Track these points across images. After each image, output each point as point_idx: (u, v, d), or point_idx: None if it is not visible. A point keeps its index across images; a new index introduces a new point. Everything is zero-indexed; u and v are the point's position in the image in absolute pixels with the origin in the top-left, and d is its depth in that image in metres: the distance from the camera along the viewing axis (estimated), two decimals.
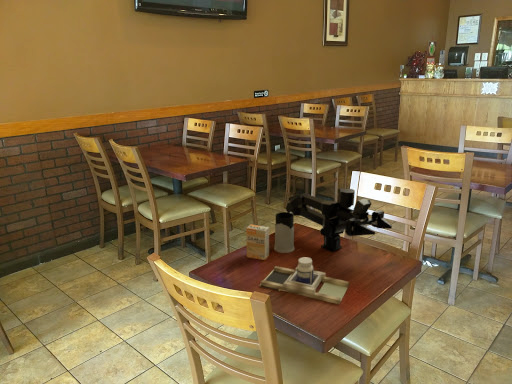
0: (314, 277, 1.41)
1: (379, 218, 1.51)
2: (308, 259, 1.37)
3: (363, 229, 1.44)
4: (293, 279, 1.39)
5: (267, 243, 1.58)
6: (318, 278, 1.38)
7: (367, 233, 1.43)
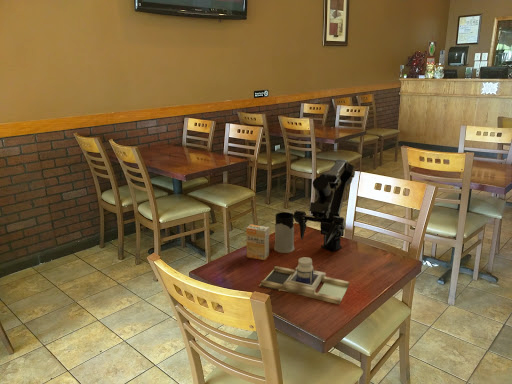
0: (314, 277, 1.41)
1: None
2: (308, 259, 1.37)
3: None
4: (293, 279, 1.39)
5: (267, 243, 1.58)
6: (318, 278, 1.38)
7: None
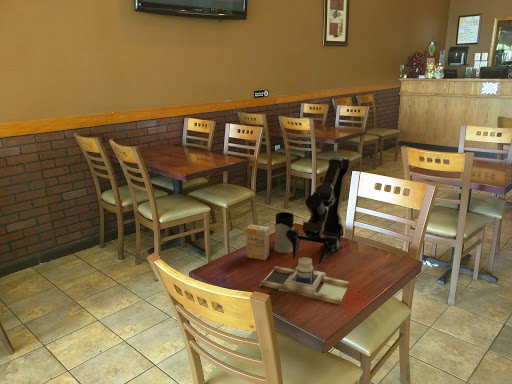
0: (314, 277, 1.41)
1: None
2: (308, 259, 1.37)
3: None
4: (293, 279, 1.39)
5: (267, 243, 1.58)
6: (318, 278, 1.38)
7: None
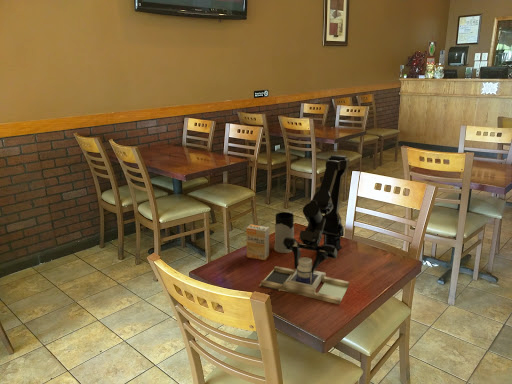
0: (314, 277, 1.41)
1: None
2: (308, 259, 1.37)
3: None
4: (293, 279, 1.39)
5: (267, 243, 1.58)
6: (318, 278, 1.38)
7: None
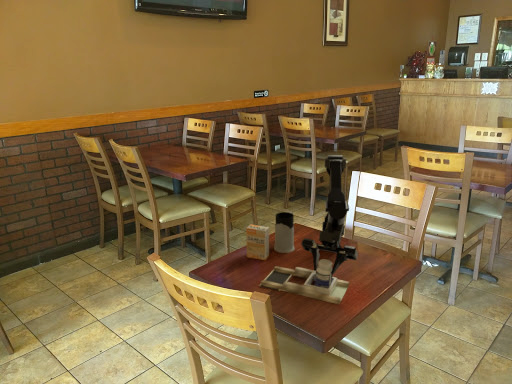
0: None
1: None
2: (328, 261, 1.34)
3: None
4: (308, 282, 1.37)
5: (267, 243, 1.58)
6: (334, 281, 1.36)
7: None
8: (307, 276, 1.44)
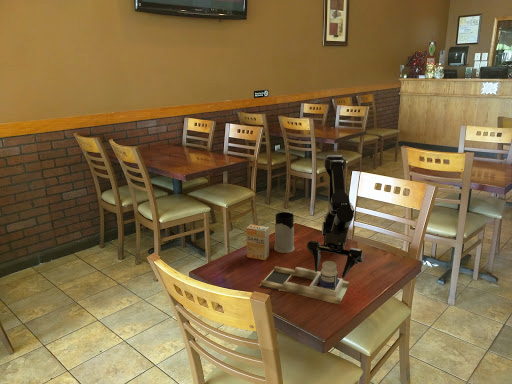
0: None
1: (347, 259, 1.32)
2: (332, 262, 1.34)
3: None
4: (314, 284, 1.36)
5: (267, 243, 1.58)
6: (340, 283, 1.35)
7: None
8: (307, 276, 1.44)
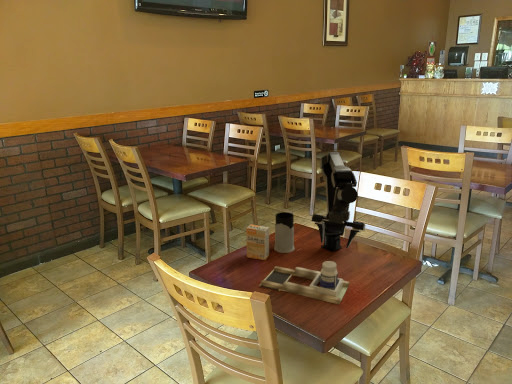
0: None
1: None
2: (332, 262, 1.34)
3: None
4: (314, 284, 1.36)
5: (267, 243, 1.58)
6: (340, 283, 1.35)
7: None
8: (307, 276, 1.44)
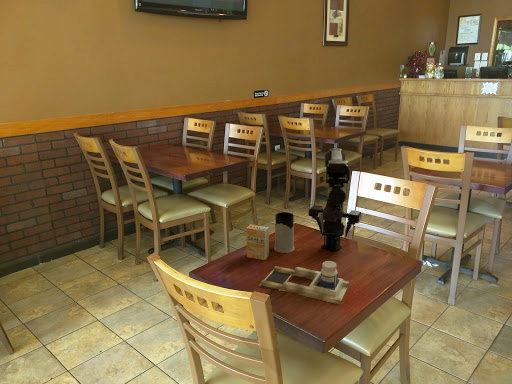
0: None
1: (347, 223, 1.44)
2: (332, 262, 1.34)
3: None
4: (314, 284, 1.36)
5: (267, 243, 1.58)
6: (340, 283, 1.35)
7: None
8: (307, 276, 1.44)
